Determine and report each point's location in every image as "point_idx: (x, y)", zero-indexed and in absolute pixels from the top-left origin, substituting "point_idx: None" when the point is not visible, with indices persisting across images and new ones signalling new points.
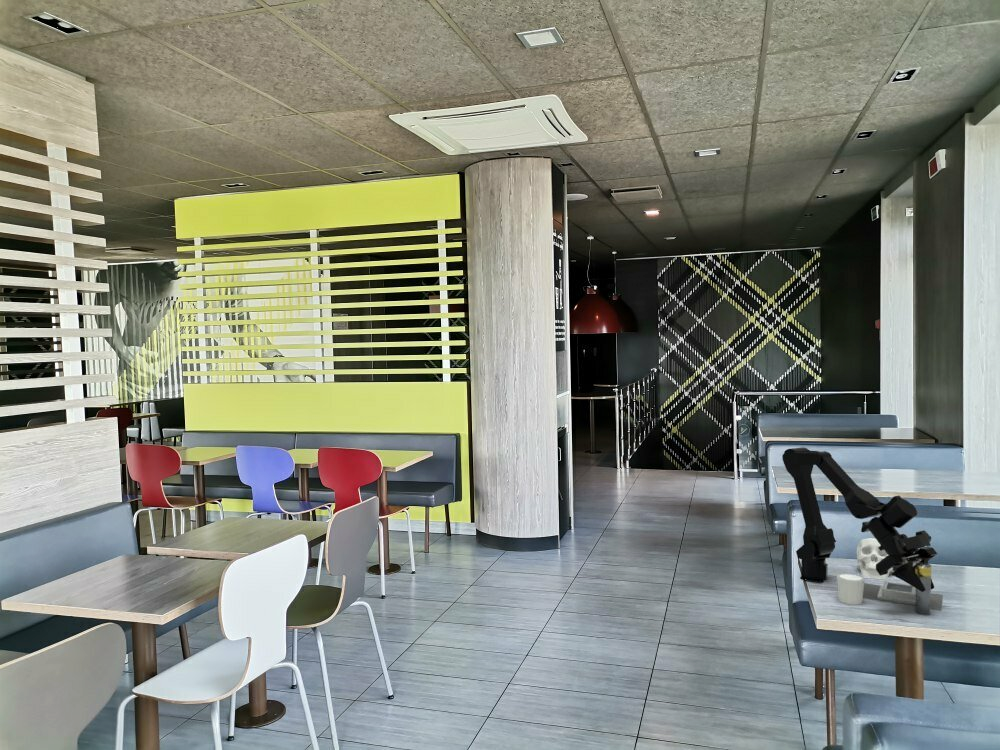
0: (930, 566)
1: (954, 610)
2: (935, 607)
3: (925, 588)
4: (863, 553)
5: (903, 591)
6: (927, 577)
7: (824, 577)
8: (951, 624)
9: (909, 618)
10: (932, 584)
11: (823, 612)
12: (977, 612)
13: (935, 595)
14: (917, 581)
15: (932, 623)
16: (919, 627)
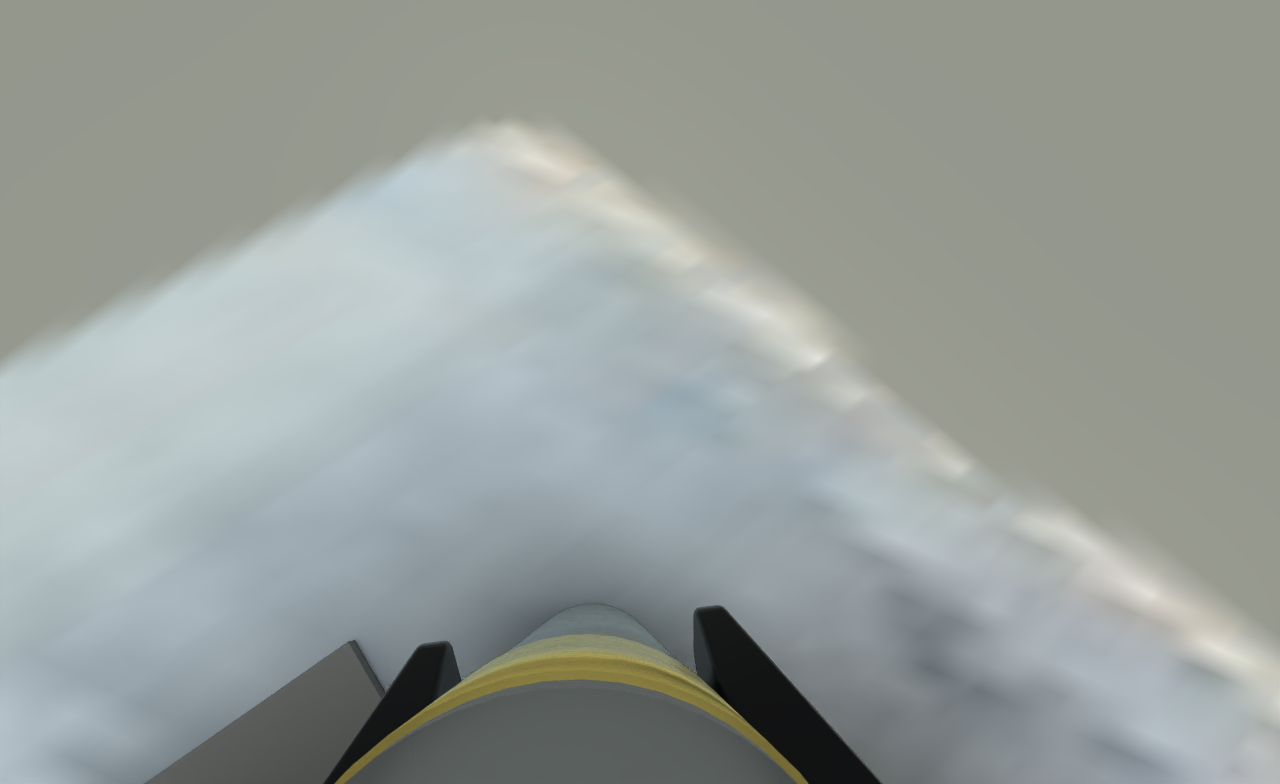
0: (506, 688)
1: (166, 623)
2: (304, 748)
3: (658, 644)
4: None
5: None
6: (647, 647)
7: None
8: (585, 372)
9: (824, 643)
10: (424, 681)
11: None
12: (19, 481)
13: None
14: (837, 745)
15: (724, 457)
16: (916, 437)
